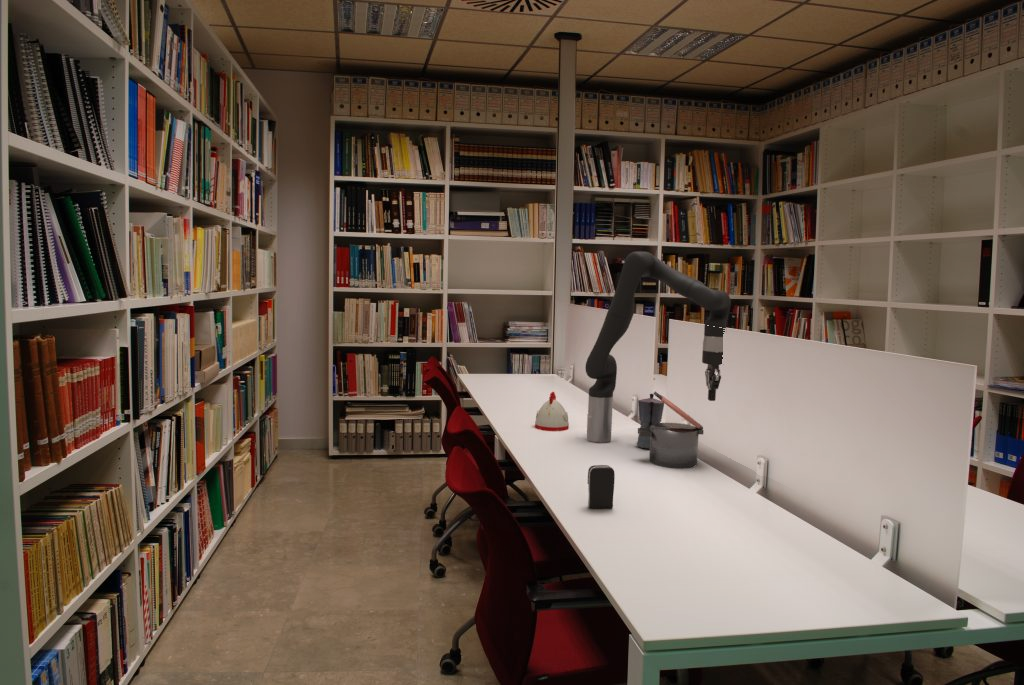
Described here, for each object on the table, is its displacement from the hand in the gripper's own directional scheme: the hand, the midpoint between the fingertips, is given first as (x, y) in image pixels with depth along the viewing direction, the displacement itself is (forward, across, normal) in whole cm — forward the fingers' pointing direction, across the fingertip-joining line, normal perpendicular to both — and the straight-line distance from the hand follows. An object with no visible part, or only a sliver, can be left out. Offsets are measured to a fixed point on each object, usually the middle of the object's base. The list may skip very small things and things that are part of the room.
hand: (711, 400), depth 237 cm
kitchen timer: (+22, -49, -53) cm, 75 cm away
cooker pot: (+22, 0, -13) cm, 26 cm away
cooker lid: (+4, 0, -11) cm, 12 cm away
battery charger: (+22, +51, -41) cm, 69 cm away
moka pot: (+22, -20, -17) cm, 34 cm away
